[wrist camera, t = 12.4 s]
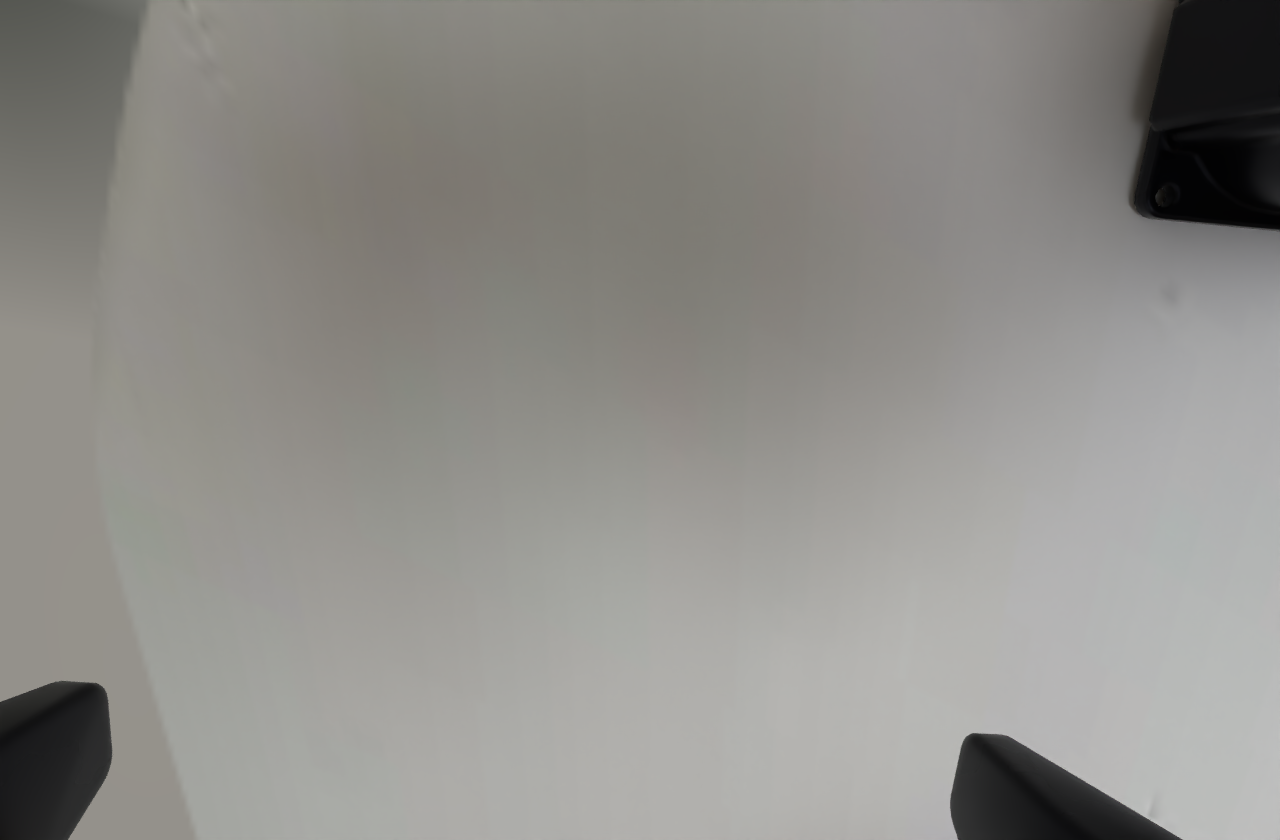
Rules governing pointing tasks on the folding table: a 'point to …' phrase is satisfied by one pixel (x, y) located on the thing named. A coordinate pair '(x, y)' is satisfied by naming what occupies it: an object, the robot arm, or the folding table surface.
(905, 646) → the folding table surface
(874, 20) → the folding table surface
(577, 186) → the folding table surface
